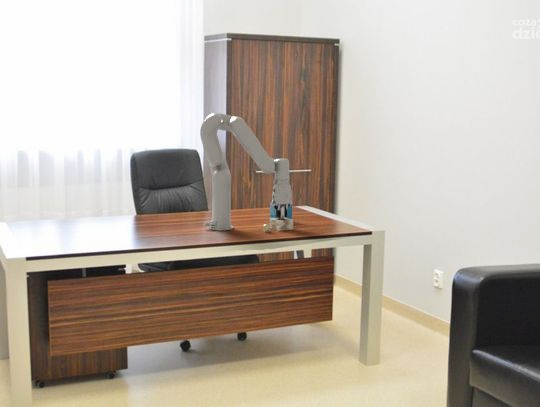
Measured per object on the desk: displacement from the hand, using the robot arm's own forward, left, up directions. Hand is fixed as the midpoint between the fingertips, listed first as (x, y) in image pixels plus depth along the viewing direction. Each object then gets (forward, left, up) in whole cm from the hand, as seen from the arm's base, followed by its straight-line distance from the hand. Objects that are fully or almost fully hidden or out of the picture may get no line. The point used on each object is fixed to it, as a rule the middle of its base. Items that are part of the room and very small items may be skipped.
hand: (281, 216), depth 378 cm
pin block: (0, 0, -6) cm, 6 cm away
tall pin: (0, 0, -3) cm, 3 cm away
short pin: (-12, -4, -6) cm, 14 cm away
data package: (+9, +15, -7) cm, 19 cm away
